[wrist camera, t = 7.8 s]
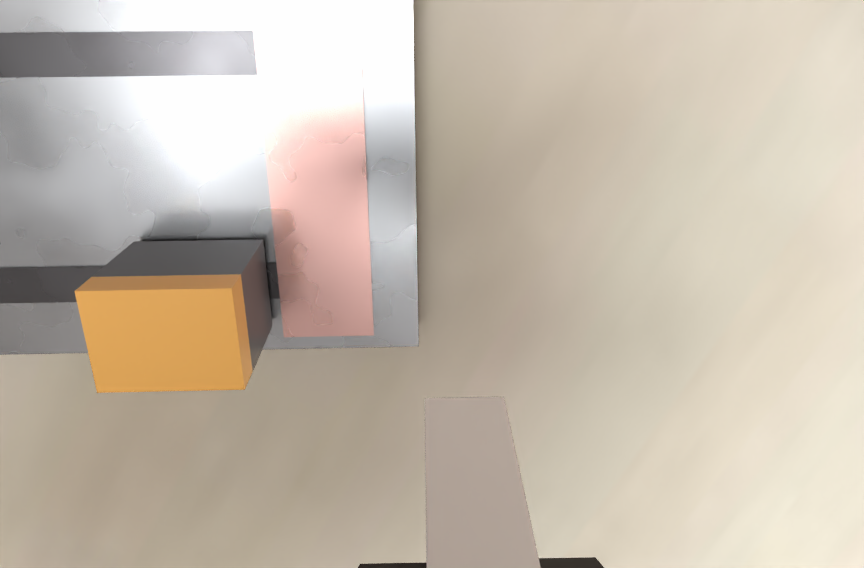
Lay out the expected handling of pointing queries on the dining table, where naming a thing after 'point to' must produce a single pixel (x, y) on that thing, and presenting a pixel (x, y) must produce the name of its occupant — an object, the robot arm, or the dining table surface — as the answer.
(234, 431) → the dining table surface
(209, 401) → the dining table surface
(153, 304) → the block
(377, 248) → the panel
